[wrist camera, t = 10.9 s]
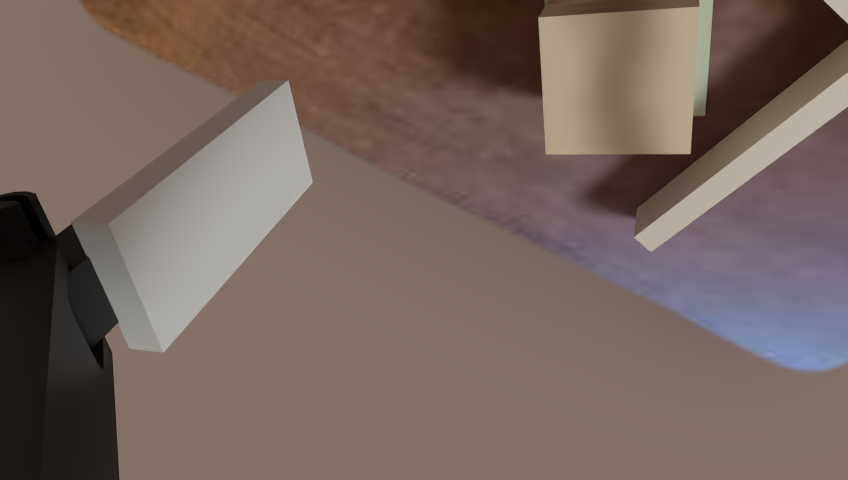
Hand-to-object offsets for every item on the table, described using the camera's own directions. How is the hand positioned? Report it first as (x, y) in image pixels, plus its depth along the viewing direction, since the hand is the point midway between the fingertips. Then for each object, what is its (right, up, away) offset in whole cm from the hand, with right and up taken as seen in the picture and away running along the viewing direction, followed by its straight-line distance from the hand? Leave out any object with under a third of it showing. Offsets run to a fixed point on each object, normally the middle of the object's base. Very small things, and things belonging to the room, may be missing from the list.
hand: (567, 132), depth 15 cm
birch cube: (+10, +10, +29) cm, 32 cm away
